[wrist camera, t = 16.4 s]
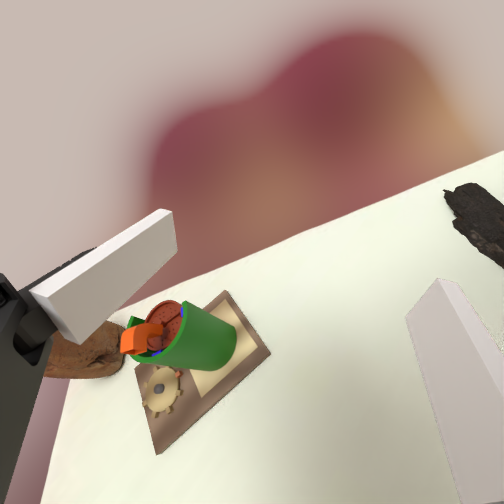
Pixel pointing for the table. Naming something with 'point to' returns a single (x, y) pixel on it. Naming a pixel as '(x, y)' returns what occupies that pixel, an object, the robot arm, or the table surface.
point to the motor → (180, 338)
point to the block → (86, 354)
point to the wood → (479, 219)
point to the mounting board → (196, 380)
